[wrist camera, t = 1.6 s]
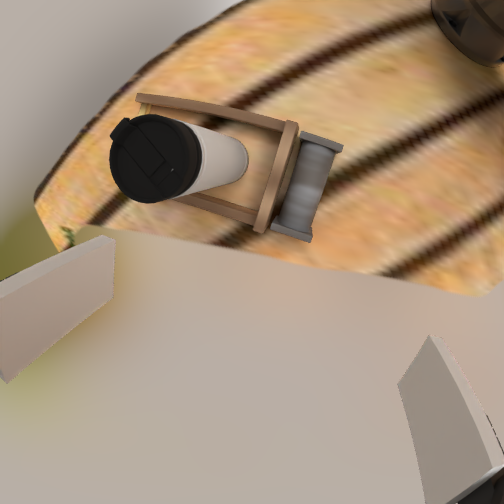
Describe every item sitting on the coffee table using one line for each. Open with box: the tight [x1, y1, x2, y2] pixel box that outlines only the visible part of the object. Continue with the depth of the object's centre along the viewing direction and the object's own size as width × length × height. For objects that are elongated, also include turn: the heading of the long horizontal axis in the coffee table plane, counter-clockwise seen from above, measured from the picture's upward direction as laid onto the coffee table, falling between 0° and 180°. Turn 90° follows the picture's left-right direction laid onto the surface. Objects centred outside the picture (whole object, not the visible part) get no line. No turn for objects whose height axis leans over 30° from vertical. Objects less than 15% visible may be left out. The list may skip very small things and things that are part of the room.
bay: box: [135, 93, 344, 243], centre depth 33 cm, size 13×27×5 cm, turn 73°
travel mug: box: [109, 114, 249, 203], centre depth 26 cm, size 6×7×20 cm
